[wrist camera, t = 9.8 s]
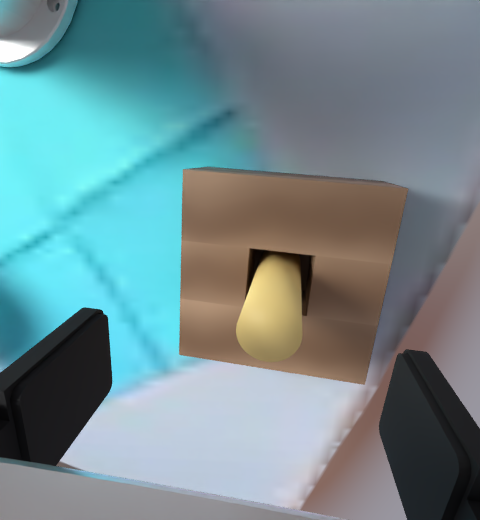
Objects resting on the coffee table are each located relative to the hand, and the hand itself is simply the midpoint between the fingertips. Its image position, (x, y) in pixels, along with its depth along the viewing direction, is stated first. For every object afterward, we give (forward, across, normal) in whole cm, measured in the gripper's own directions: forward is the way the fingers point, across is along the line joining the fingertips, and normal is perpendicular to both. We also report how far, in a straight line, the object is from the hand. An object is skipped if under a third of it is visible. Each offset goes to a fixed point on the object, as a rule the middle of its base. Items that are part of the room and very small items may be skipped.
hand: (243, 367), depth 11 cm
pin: (+13, -1, +1) cm, 13 cm away
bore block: (+15, -1, +1) cm, 15 cm away
